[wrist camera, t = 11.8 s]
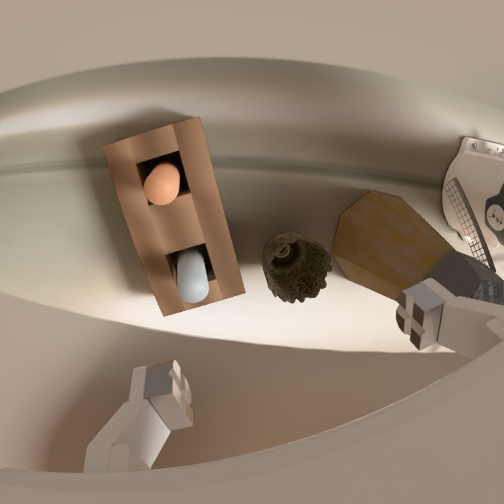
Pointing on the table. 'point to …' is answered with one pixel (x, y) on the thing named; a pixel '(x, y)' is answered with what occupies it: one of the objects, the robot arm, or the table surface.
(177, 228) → the peg block
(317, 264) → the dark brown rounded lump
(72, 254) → the table surface
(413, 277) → the windmill
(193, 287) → the seated peg
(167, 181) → the peg
